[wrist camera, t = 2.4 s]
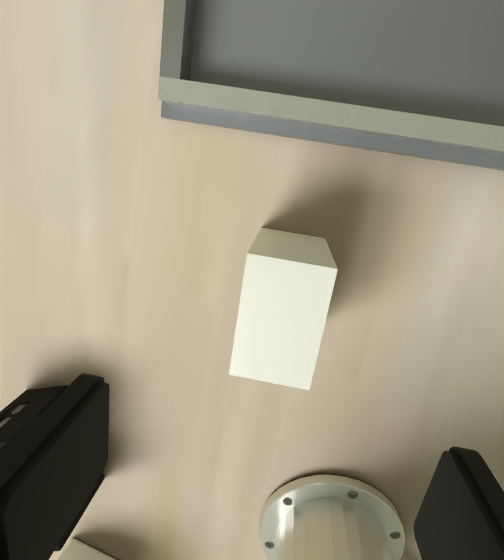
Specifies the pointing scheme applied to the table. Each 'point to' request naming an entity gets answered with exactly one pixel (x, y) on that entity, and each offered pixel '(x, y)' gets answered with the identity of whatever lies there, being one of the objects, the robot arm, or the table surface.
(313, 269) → the block
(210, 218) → the table surface
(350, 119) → the rail guides
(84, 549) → the medicine bottle
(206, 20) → the plate
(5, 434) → the digital camera
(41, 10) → the table surface
